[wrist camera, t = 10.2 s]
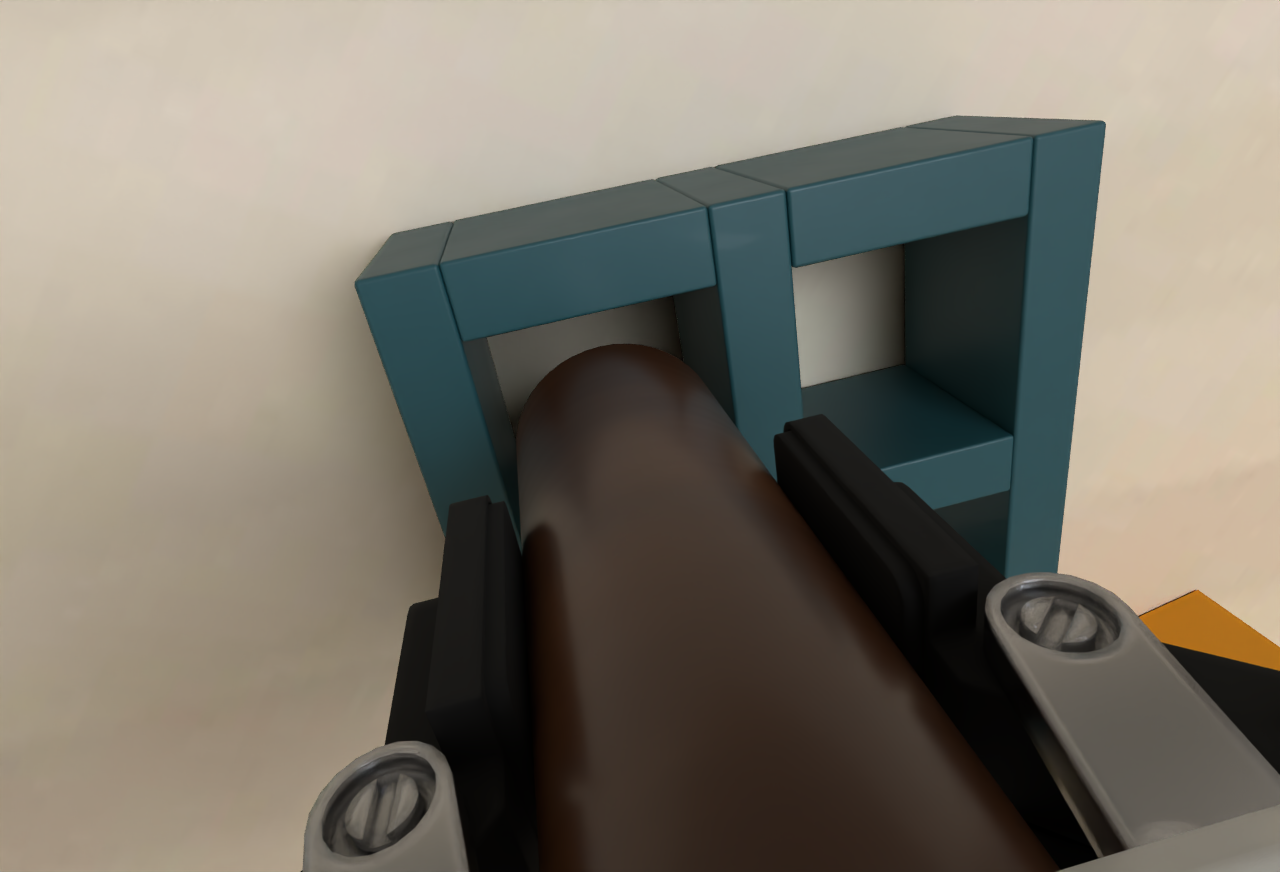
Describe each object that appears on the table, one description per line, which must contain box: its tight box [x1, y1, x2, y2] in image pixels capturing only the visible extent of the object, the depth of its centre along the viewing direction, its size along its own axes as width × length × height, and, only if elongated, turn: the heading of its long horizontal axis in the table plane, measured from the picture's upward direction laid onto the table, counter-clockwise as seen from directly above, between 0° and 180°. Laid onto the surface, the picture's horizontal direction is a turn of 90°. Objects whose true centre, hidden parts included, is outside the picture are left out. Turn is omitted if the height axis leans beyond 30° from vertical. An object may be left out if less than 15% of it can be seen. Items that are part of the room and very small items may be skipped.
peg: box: [516, 344, 1060, 872], centre depth 9 cm, size 4×4×12 cm
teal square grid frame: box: [354, 116, 1106, 579], centre depth 18 cm, size 14×14×5 cm
